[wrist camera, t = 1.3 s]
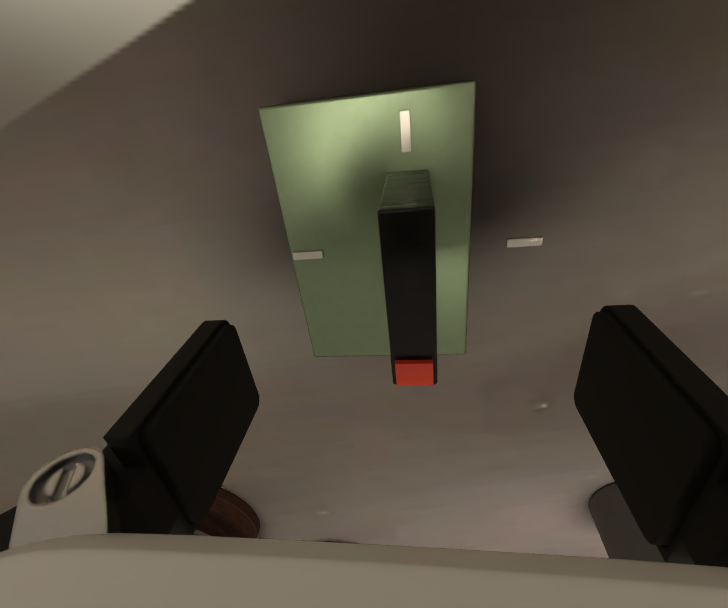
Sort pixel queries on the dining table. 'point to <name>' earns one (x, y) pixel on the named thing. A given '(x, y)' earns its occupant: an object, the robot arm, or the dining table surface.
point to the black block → (410, 275)
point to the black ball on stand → (229, 518)
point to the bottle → (620, 527)
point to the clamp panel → (372, 205)
